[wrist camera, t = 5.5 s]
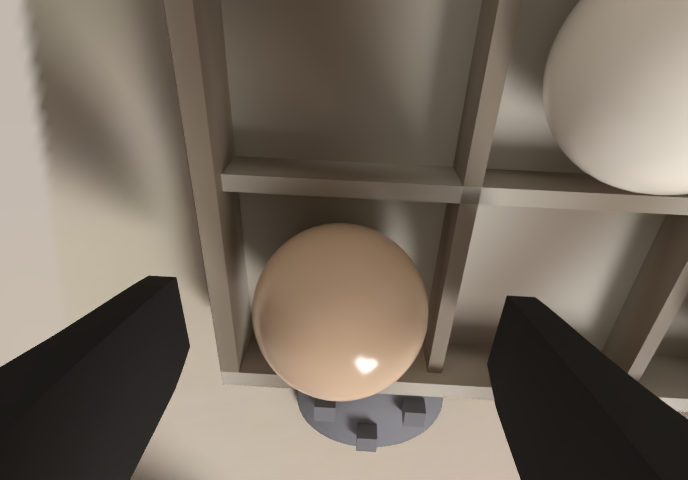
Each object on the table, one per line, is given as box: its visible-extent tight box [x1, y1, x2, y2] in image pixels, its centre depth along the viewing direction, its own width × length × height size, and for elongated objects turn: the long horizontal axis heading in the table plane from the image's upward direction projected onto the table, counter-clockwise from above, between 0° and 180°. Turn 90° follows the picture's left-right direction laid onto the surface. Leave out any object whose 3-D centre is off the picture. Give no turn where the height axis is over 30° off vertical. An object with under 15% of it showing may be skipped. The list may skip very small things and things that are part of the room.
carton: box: [163, 0, 688, 412], centre depth 10 cm, size 17×12×2 cm
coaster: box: [297, 391, 443, 452], centre depth 14 cm, size 5×5×1 cm
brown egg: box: [252, 223, 429, 401], centre depth 10 cm, size 4×4×4 cm
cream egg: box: [543, 0, 688, 195], centre depth 7 cm, size 4×4×4 cm
